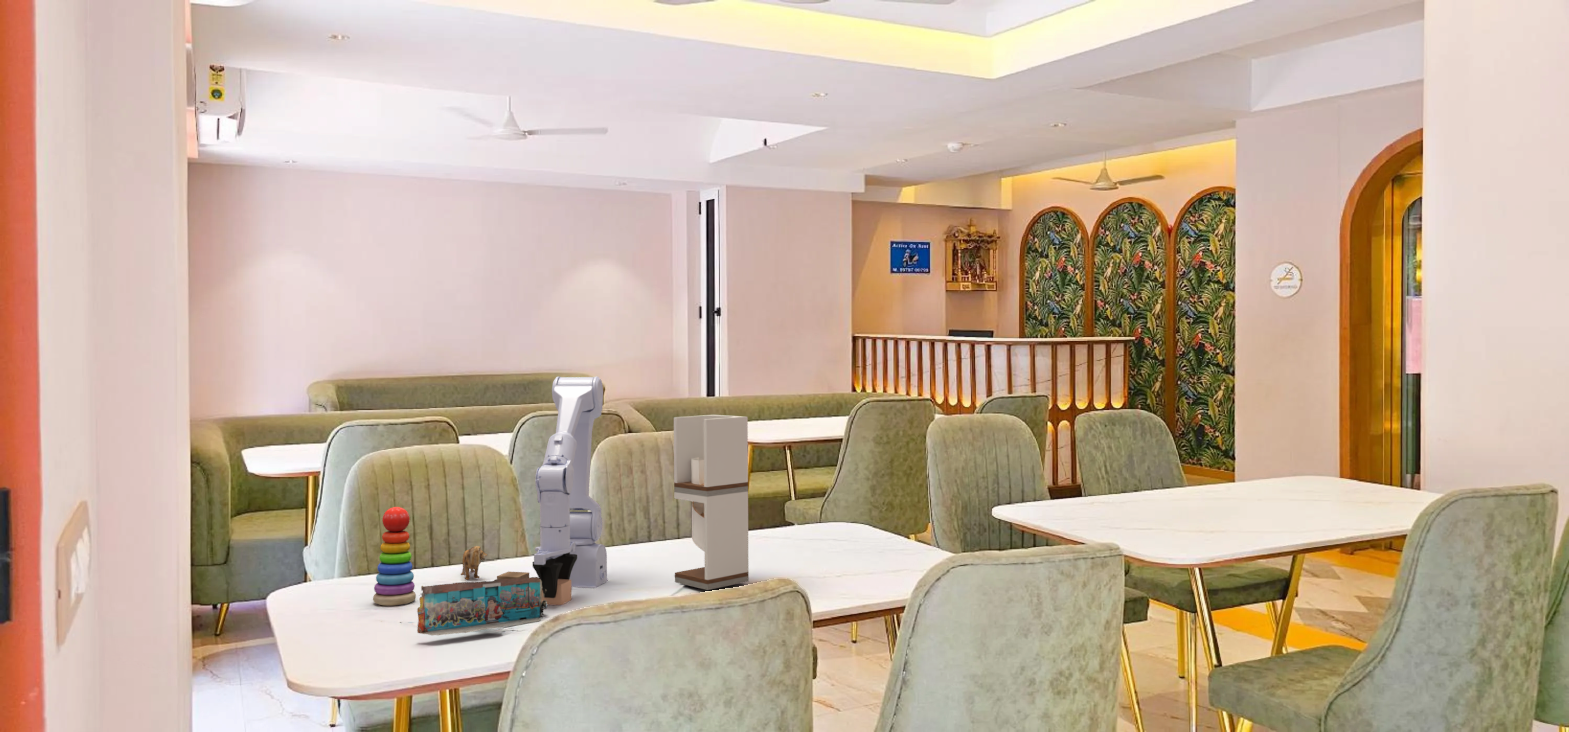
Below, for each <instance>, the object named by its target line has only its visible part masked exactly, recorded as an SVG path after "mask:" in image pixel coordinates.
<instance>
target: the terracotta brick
mask: <svg viewBox="0 0 1569 732" xmlns="http://www.w3.org/2000/svg"><path fill="white" fill-rule="evenodd" d="M544 600H546V601H547V605H549V606H550V605H551V606H552V605H553V606H554V605H555V606H563V605H564V604H567V603H568V602H570V601H572V587H571V580H568V579H558V583H557V592H556V596H555V598H545V597H543V590H542V598H541V604H542V601H544Z"/></svg>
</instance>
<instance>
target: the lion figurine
mask: <svg viewBox="0 0 1569 732" xmlns="http://www.w3.org/2000/svg"><path fill="white" fill-rule="evenodd" d="M487 556H488V554H487V553H485V552H484V551H483V550H482V548H481V546H479V545H475V546H473V547H471V548H469V549H467V550H465V551H464V552H463V554H462V569H461V570H462V571H461V573H460V575H461V576H465V577H464V580H465V579H466V580H465V581H470V580H471V577H470V576H471V575H470V573H473V578H474V579H476V578H478V579H480V575H478V574H479V573H478V571H479V567H480V565H481V563H482V561H483V562H485V561H486V558H487ZM469 579H470V580H469Z"/></svg>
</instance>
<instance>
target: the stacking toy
mask: <svg viewBox="0 0 1569 732" xmlns="http://www.w3.org/2000/svg"><path fill="white" fill-rule="evenodd" d="M410 518H411V517H410V514H409V512H408V511H407V510H406V509H405V508H404V507H400V506H394V507H393V506H392V507H390V508H388V509H387V510H386V511H384V514H383V515H382V518H381V519H382V525H383V528H385V530H387V531H384V532H383V533H382V535H381V539H382V541H383V542H382V543H381V545H380V551H381V553H380V555H379V561H380V562H379V564H378V565H377V572H378V573H377V575H376V576H375V580H376V583H375V584H374V587H373V589H374V592H375V593H374V594H373V597H372V600H373V603H375V604H376V605H379V606H386V607H388V606H389V607H391V606H402V605H406V604H411V603H412V602H414V601H415V600H416V597H417V594H416V592H415V591H414V590H415V583H414V581H413V580H414V576H415V575H414V574H415V573H414V572H413V571H412V569H413V564H412V563H413V562H411V559H412V557H413V556H412V555H413V554H412V553H411V552H410V549H411V545H410V543H409V542H408V540H409V539H410V533H409V532H408V531H406V529H407V528H408V526H409V524H410V520H411V519H410Z"/></svg>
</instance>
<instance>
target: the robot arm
mask: <svg viewBox="0 0 1569 732" xmlns="http://www.w3.org/2000/svg"><path fill="white" fill-rule="evenodd" d="M551 396H552V401H553V403H554V404H555V405H554V406H555V409H556V410H557V419H556V427H555V433H554V434H552V435H550V437H549V438H548V442H547V444H546V445H547V446H546V450H545V454H544V458H543V461H542V465H541V466H538V467H537V468H536V473H535V491H536V493H537V502H538V503H539V533H540V534H539V542H540V543H539V546H536V547H535V548H534V551H535V552H536V553H534V554H533V560H534V561H532V568H533V569H534V572H536V574H537V575H536V576H537V577H538V578H539V579H540V580H541V581H542V590H543V593H544V597H545V598H555V596H556V592H557V583H558V579H568V580H571V588H583V589H584V588H585V589H596V588H598V587H599V586H601V585H603V584H605V583H606V582H609V579H608V555H607V549H606V546H605V545H604V544H603V543H602V544H601V543H596V542H597V541H599V539H600V538H601V536H602V532H603V517H602V507H601V506H600V505H601V504H599V503H598V502H597V501H596V500H594V499H593V498H592V497H591V496H590V479H591V478H590V477H591V475H590V474H591V461H592V460H591V458H592V439H593V437H592V436H593V427H594V423H595V420H596V419H598V418H599V417H601V416H602V411H603V403H604V402H603V401H604V388H603V381H602V378H600V376H598V375H596V376H580V377H579V376H577V377H576V376H573V377H572V376H568V377H567V376H556V377H555V378H554V380H553V382H552V387H551Z"/></svg>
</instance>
